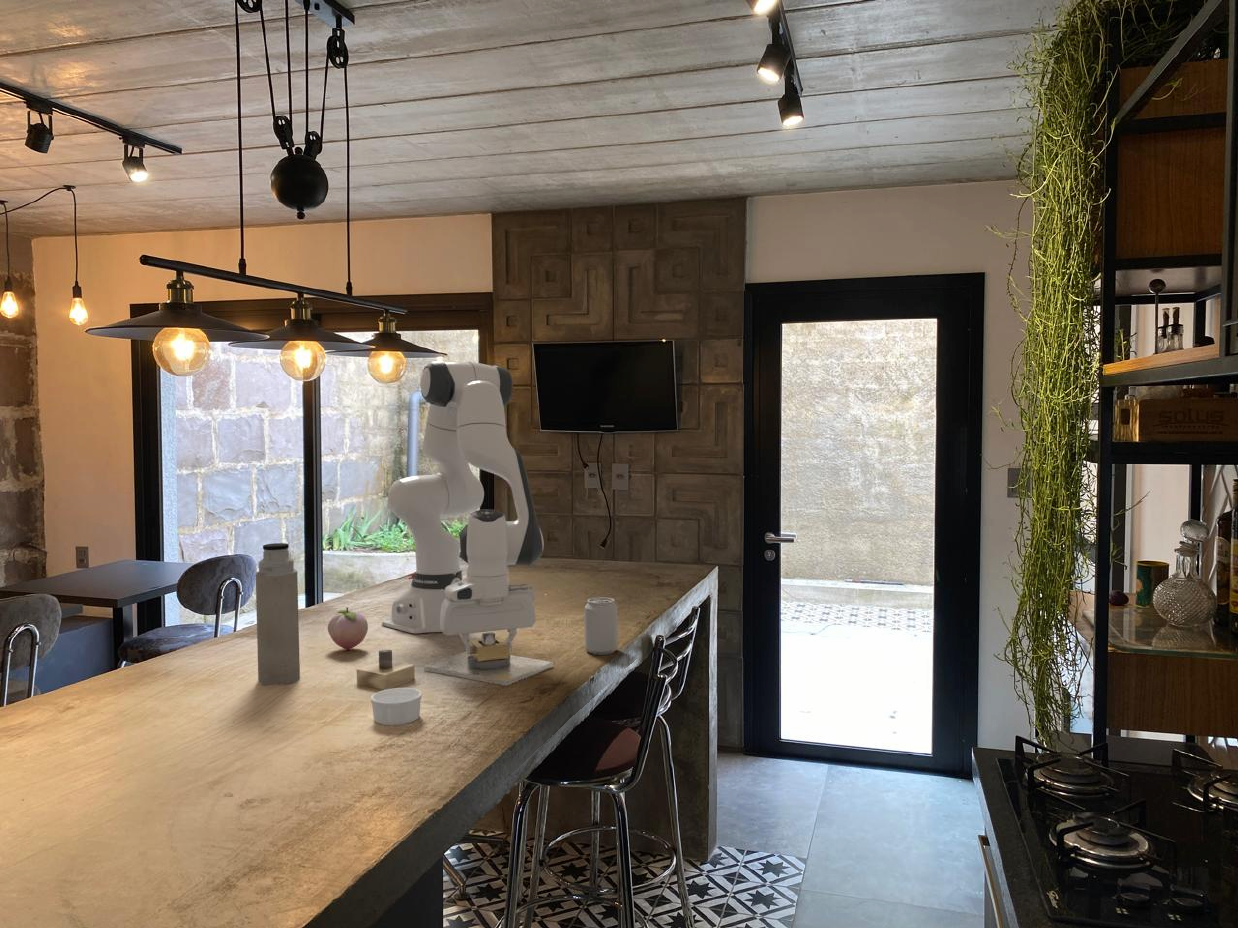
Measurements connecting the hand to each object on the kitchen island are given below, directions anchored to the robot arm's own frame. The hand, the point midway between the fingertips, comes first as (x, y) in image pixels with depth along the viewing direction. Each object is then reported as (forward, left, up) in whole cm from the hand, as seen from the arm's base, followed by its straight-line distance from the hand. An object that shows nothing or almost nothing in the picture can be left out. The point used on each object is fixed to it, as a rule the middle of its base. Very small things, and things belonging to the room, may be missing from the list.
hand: (488, 651), depth 192 cm
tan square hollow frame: (0, 0, -1) cm, 1 cm away
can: (+13, +24, -4) cm, 28 cm away
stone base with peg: (0, 0, -4) cm, 4 cm away
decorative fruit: (-38, -4, -4) cm, 38 cm away
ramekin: (+6, -33, -4) cm, 34 cm away
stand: (-12, -18, -4) cm, 22 cm away
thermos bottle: (-32, -28, -4) cm, 43 cm away
